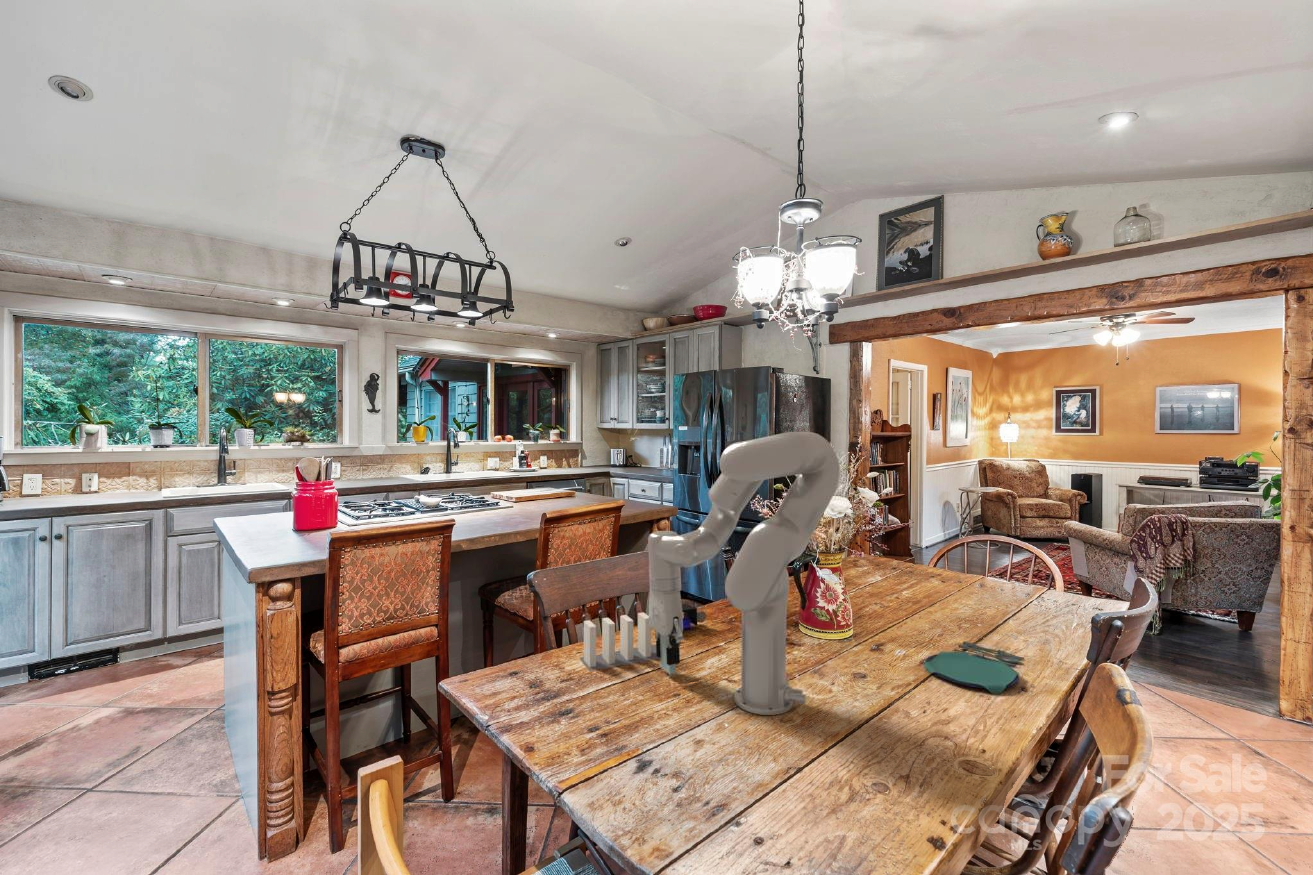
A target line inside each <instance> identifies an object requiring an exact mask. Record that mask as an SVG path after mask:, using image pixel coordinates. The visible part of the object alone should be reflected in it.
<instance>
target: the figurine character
mask: <svg viewBox="0 0 1313 875" xmlns="http://www.w3.org/2000/svg"><path fill="white" fill-rule="evenodd" d="M681 604H682V613H683V630H686V629H691V630H692V629H693V630H694V629H698V628H699V626H697V625H698V624H699V623H700V624H702V623H704V622H705V621H706V620H707V613H706V612H705V611H704V610H698V608H697V607H695V606H692V605H690V604H687V603H681ZM693 625H695V626H693Z"/></svg>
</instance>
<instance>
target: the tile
mask: <svg viewBox="0 0 1313 875" xmlns="http://www.w3.org/2000/svg"><path fill="white" fill-rule="evenodd" d="M671 633H675V632H674V631H671ZM670 638H671V641H672V639H673V638H675V636H672V637H670ZM667 647H668V645H667V638H666V636H663V635H661V634H660V652H661V658H660V668H661V669H662V670H664V671H665V672H666V673H667V674H668V675H674V674H676V673H677V664H672V665H668V664H667V658H666V648H667Z"/></svg>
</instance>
